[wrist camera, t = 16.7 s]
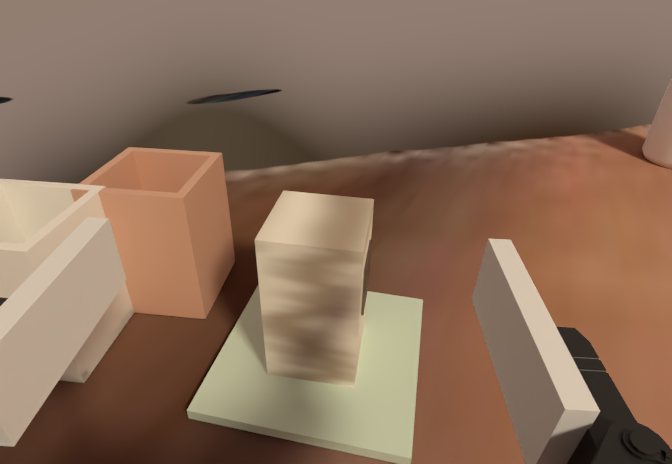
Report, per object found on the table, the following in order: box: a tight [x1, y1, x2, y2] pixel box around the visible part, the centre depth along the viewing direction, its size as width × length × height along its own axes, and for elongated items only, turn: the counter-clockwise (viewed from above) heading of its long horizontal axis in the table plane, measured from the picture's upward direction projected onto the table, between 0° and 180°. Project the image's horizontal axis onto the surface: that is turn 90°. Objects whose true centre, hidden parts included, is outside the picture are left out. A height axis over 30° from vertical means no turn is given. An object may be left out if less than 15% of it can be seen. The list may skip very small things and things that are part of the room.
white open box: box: [0, 179, 134, 383], centre depth 31 cm, size 8×8×11 cm
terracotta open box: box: [70, 147, 235, 319], centre depth 36 cm, size 8×8×11 cm
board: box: [187, 284, 423, 464], centre depth 32 cm, size 14×14×1 cm
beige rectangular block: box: [255, 191, 374, 387], centre depth 29 cm, size 6×6×11 cm
